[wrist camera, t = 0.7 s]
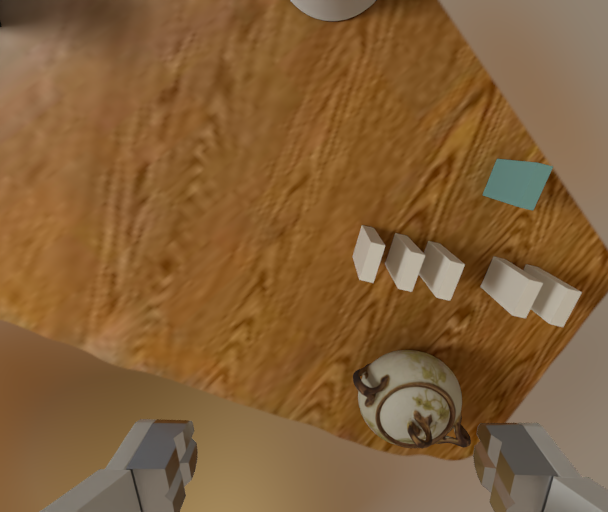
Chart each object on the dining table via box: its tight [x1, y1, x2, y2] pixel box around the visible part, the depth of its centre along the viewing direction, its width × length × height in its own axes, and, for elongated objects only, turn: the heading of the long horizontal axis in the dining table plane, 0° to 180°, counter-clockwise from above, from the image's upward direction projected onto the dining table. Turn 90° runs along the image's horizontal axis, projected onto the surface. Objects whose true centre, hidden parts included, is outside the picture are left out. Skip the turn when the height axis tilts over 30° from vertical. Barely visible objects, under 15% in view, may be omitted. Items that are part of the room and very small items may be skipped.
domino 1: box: [353, 225, 385, 283], centre depth 46 cm, size 5×2×9 cm, turn 167°
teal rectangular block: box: [483, 159, 553, 210], centre depth 43 cm, size 5×2×9 cm, turn 167°
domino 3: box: [419, 241, 465, 301], centre depth 47 cm, size 5×2×9 cm, turn 167°
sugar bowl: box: [353, 350, 471, 448], centre depth 50 cm, size 20×15×15 cm
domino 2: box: [385, 233, 425, 292], centre depth 46 cm, size 5×2×9 cm, turn 167°
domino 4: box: [481, 257, 543, 318], centre depth 47 cm, size 5×2×9 cm, turn 167°
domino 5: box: [523, 264, 582, 327], centre depth 47 cm, size 5×2×9 cm, turn 167°
